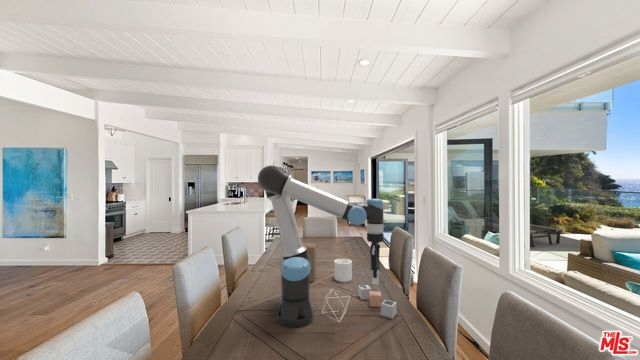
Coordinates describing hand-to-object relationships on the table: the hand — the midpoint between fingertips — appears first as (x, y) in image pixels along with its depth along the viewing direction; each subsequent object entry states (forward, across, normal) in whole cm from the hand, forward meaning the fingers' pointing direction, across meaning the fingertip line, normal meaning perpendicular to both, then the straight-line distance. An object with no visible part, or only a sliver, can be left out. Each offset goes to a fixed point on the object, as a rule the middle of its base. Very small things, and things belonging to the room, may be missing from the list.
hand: (375, 283), depth 127 cm
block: (+9, +19, +42) cm, 47 cm away
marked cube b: (+9, +6, +6) cm, 13 cm away
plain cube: (+10, 0, 0) cm, 10 cm away
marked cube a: (+10, -8, -7) cm, 14 cm away
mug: (+10, +28, +23) cm, 38 cm away
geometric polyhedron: (+10, -16, +14) cm, 24 cm away
